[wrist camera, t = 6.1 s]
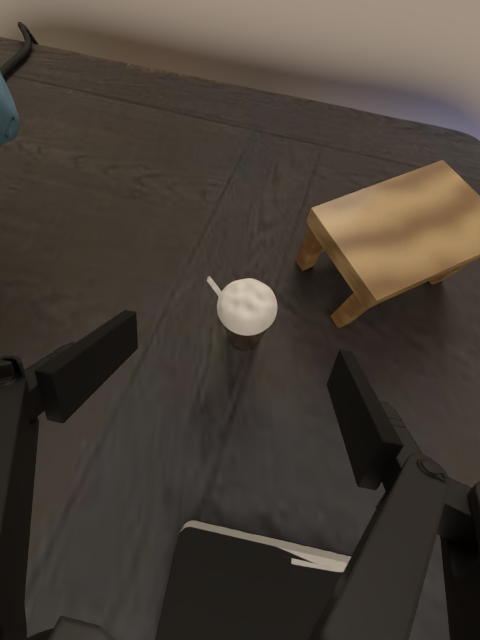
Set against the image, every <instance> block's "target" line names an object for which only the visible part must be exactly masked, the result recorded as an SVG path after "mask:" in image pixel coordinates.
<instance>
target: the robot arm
mask: <svg viewBox="0 0 480 640" xmlns="http://www.w3.org/2000/svg"><path fill="white" fill-rule="evenodd" d="M18 27H19V28H20V30H21V32H22V34H23V36H24V40H25V43H24V45H23V47H22V48H21V50H20V51H19V52H18V53H17V54H16V55H15V56H13V57H12V58H11V59H10V60H9V61H7V62H6V63H5V64H4V65H3V66H2V67H1V68H0V145H1V144H4V143H7V142H9V141H11V140H13V139H14V138H15V137H16V135H17V133H18V130H19V117H18V112H17V109H16V106H15V104H14V101H13V98H12V96H11V94H10V91H9V89H8V87H7V85H6V83H5V80H4V78H5V77H6V76H7V75H8V74H9V73H10V72H11V71H12V70H13V69H14V68H15V67H17V66H18V65H19V64H20V63H21V62H22V61H23V60H24V59H25V58H26V57H27V56H28V54H29V53H30V51H31V48H32V43H33V44H37V45H39V44H38V42H37V41H36V40H35V38H34V37H33V35H32V34H31V33H30V31H29V30H28V29H27V27H26V26H25V25H24V24H22V23H21V22H18ZM137 348H138V342H137V320H136V312H132V311H127V310H124V311H123V312H121V313H120V314H118V315H117V316H115V317H114V318H112V319H111V320H109V321H108V322H106V323H105V324H103V325H102V326H100V327H99V328H97V329H96V330H94V331H93V332H91V333H90V334H88V335H87V336H85V337H84V338H82V339H81V340H79V341H78V342H76V343H74V342H72V343H69V344H67V345H64V346H61V347H60V348H58V349H57V350H55V351H54V352H53V353H50V354H49V355H47V356H46V358H45V357H44V358H43V359H41V360H40V361H38V362H36V363H35V364H33V365H32V366H30V367H29V368H27V369H25V370H24V369H23V365H22V362H21V359H20V358H18V357H15V356H4V357H0V640H115V639H114V638H113V637H112V636H111V635H109V634H108V633H107V632H106V631H105V630H104V629H102V628H101V627H100V626H99V625H95V624H91V623H87V622H83V621H80V620H76V619H72V618H68V617H64V616H60V618H59V619H58V621H57V623H56V625H55V627H54V629H49V630H46V631H43V632H40V633H37V634H35V635H33V636H31V637H29V638H27V627H26V616H25V606H24V599H25V585H26V573H27V561H28V549H29V537H30V525H31V513H32V501H33V489H34V477H35V464H36V452H37V440H38V428H39V420H38V416H39V415H40V414H41V413H42V412H43V411H44V410H45V413H46V417H47V420H50V421H55V422H59V423H64V422H65V421H66V420H67V419H68V418H69V417H70V416H71V415H72V414H73V413H74V412H75V411H76V410H77V409H78V408H79V407H80V406H81V405H82V404H83V403H84V402H85V401H86V400H87V399H88V398H89V397H90V396H91V395H92V394H93V393H94V392H95V391H96V390H97V389H98V388H99V387H100V386H101V385H102V384H103V383H104V382H105V381H106V380H107V379H108V378H109V377H110V376H111V375H112V374H113V373H114V372H115V371H116V370H117V369H118V368H119V367H120V366H121V365H122V364H123V363H124V362H125V361H126V360H127V359H128V358H129V357H130V356H131V355H132V354H133V353H134V352H135V351H136V350H137ZM327 387H328V390H329V394H330V397H331V400H332V404H333V407H334V410H335V413H336V417H337V420H338V423H339V427H340V430H341V433H342V437H343V440H344V443H345V446H346V450H347V453H348V456H349V460H350V463H351V466H352V469H353V473H354V476H355V479H356V483H357V486H358V487H362V488H367V489H372V490H377V488H378V487H379V485H380V484H381V482H382V483H383V485H384V488H385V490H386V492H385V494H384V495H383V497H382V498H381V500H380V501H379V503H378V505H377V506H376V510H375V512H374V514H373V516H372V518H371V520H370V522H369V524H368V526H367V528H366V530H365V531H364V533H363V535H362V537H361V539H360V541H359V543H358V545H357V547H356V549H355V551H354V553H353V554H352V556H351V558H350V560H349V562H348V564H347V566H346V568H345V570H344V572H343V574H342V576H341V577H340V579H339V581H338V583H337V585H336V587H335V589H334V591H333V593H332V595H331V597H330V599H329V600H328V602H327V604H326V606H325V608H324V610H323V612H322V614H321V616H320V618H319V620H318V621H317V623H316V625H315V627H314V629H313V631H312V633H311V635H310V637H309V639H308V640H408V639H409V636H410V632H411V628H412V624H413V620H414V617H415V613H416V609H417V605H418V602H419V598H420V594H421V590H422V587H423V583H424V579H425V575H426V572H427V568H428V564H429V560H430V557H431V553H432V549H433V545H434V542H435V538H436V534H438V535H440V538H441V549H442V560H443V570H444V581H445V591H446V602H447V612H448V623H449V633H450V640H480V482H478V483H476V484H475V485H474V487H473V488H471V487H469V486H466V485H464V484H462V483H460V482H458V481H455V480H453V479H451V478H449V477H448V475H447V473H446V471H445V470H444V469H443V468H442V467H441V466H440V465H439V464H438V463H437V462H435V461H434V460H433V459H431V458H429V457H427V456H425V455H423V454H422V452H421V450H420V449H419V447H418V445H417V444H416V442H415V441H414V439H413V437H412V436H411V434H410V432H409V431H408V429H406V426H405V424H404V423H403V422H402V419H401V418H400V416H399V414H398V413H397V411H396V410H395V409H394V408H393V407H392V406H391V405H390V404H389V403H387V402H382V401H379V400H378V398H377V396H376V394H375V392H374V391H373V389H372V387H371V385H370V383H369V382H368V380H367V378H366V376H365V374H364V373H363V371H362V369H361V367H360V365H359V364H358V362H357V360H356V358H355V356H354V355H353V353H352V352H350V351H345V350H339V352H338V355H337V358H336V361H335V363H334V366H333V369H332V371H331V374H330V377H329V380H328V382H327Z"/></svg>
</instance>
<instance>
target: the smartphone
mask: <svg viewBox="0 0 480 640" xmlns="http://www.w3.org/2000/svg"><path fill="white" fill-rule="evenodd" d="M350 558H351V556H347V555H343V554H338V553H334V552H330V551H325V550H321V549H317V548H312V547H308V546H304V545H299V544H295V543H290V542H286V541H282V540H277V539H273V538H269V537H264V536H260V535H256V534H251V533H247V532H243V531H238V530H234V529H230V528H225V527H221V526H217V525H212V524H208V523H204V522H199V521H195V520H190V521H188V522H186V523H185V524H184V526H183V527H182V530H181V532H180V534H179V536H178V539H177V544H176V548H175V553H174V557H173V562H172V566H171V571H170V576H169V580H168V585H167V589H166V594H165V598H164V603H163V607H162V612H161V616H160V621H159V625H158V630H157V635H156V639H155V640H308V639H309V637H310V635H311V633H312V631H313V629H314V627H315V625H316V623H317V621H318V620H319V618H320V616H321V614H322V612H323V610H324V608H325V606H326V604H327V602H328V600H329V599H330V597H331V595H332V593H333V591H334V589H335V587H336V585H337V583H338V581H339V579H340V577H341V576H342V574H343V572H344V570H345V568H346V566H347V564H348V562H349V560H350Z"/></svg>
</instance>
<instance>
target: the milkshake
mask: <svg viewBox="0 0 480 640" xmlns="http://www.w3.org/2000/svg"><path fill="white" fill-rule="evenodd" d="M206 281H207V282H208V283H209V285H210V286H211V287H212V289H213V290H214V291H215V293H216V294H217V295H218V296H219V298H218V301H217V313H218V316H219V318H220V320H221V322H222V324H223V326H224V328H225V330H226V333H227V335H228V338H229V340H230V341H231V343H232V345H233V347H235V348H237V349H239V350H241V351H246V350H251V349H253V348H254V347H255V346H256V345H257V344H258V342H259V341H260V340H261V338H262V336H263V335H264V333H265V332H266V331H267V329H268V328H269V327H270V326H271V324H272V323H273V321H274V319H275V317H276V314H277V301H276V298H275V295H274V293H273V291H272V290H271V289H270V288H269V287H268V286H267V285H266V284H264V283H262V282H260V281H258V280H256V279H252V278H247V279H241V280H236V281H233V282H231V283H230V284H228V285H227V286H226V287H225V288H224V289H223V291H222V292H221V290H220V289H219V288H218V286H217V285H216V283H215V282H214V281H213V279H212V278H211V277H210V276H208V278H207V280H206Z"/></svg>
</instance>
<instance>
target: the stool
mask: <svg viewBox="0 0 480 640" xmlns="http://www.w3.org/2000/svg"><path fill="white" fill-rule="evenodd" d="M306 223H307V225H308V226H309V228H308V231H307V233H306V236H305V238H304V241H303V244H302V246H301V249H300V251H299V254H298V256H297V259H296V262H297V264H298V265H299V267H300V268H301V270H302V271H304V270H306V269H308V268H311V267H313V266H314V265H315V263H316V261H317V259H318V257H319V255H320V253H321V252H323V251H326V253H327V254H328V256H329V257H330V259H331V260H332V261H333V263H334V264H335V266H336V267H337V269H338V270H339V272H340V273H341V275H342V276H343V278H344V279H345V281H346V282H347V283H348V285H349V286H350V288H351V289H352V291H353V292H354V293H353V294H352V295H351V296H350V297H349V298H348V299H347V300H346V301H345V302H344V303H343V304H342V305H341V306H340V307H339V308H338V309H337V310H336V311H335V312H334V313H333V314H332V315H331V316H330V317H331V318H332V320H333V321H334V323H335V325H336V326H337V328H340V327H343V326H345V325H347V324H349V323H351V322H352V321H353V320H355V319H356V318H357V317H359V316H360V315H361V314H362V313H364V312H365V311H366V310H368V309H369V308H371V307H373V306H375V305H377V304H380V303H382V302H384V301H386V300H388V299H391V298H393V297H395V296H397V295H399V294H402V293H404V292H406V291H408V290H410V289H412V288H415V287H417V286H419V285H421V284H423V283H426V282H428V281H429V282H430V284H431V285H434V284H436V283H438V282H440V281H443V280H444V279H446V278H447V277H449V276H450V275H452V274H454V273H455V272H457V271H458V270H460V269H462V268H463V267H465V266H466V265H468V264H469V263H471V262H473V261H474V260H476V259H478V258H480V196H479V195H478V194H477V193H476V192H475V191H474V190H473V189H472V188H471V187H470V186H469V185H468V184H467V183H466V182H465V181H464V180H463V179H462V178H461V177H460V176H459V175H458V174H457V173H456V172H454V171H453V170H452V169H451V168H450V167H449V166H448V165H447V164H446V163H445V162H444V161H443V160H441V161H439V162H436V163H433V164H430V165H428V166H425V167H422V168H419V169H417V170H414V171H411V172H409V173H406V174H403V175H400V176H398V177H395V178H392V179H389V180H387V181H384V182H381V183H378V184H376V185H373V186H370V187H367V188H365V189H362V190H359V191H357V192H354V193H351V194H348V195H346V196H343V197H340V198H337V199H335V200H332V201H329V202H326V203H324V204H321V205H318V206H315V207H313V208H311V210H310V212H309V215H308V218H307V221H306Z"/></svg>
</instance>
